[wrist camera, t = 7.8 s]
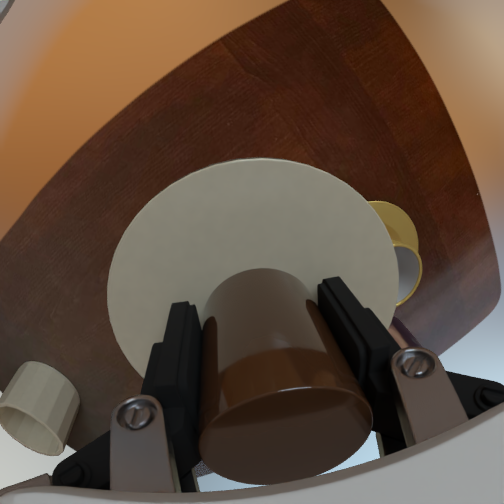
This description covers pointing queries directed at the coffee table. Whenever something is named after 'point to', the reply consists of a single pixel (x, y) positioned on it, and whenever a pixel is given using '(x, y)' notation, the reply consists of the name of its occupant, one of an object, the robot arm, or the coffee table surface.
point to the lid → (258, 308)
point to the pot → (39, 408)
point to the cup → (402, 247)
